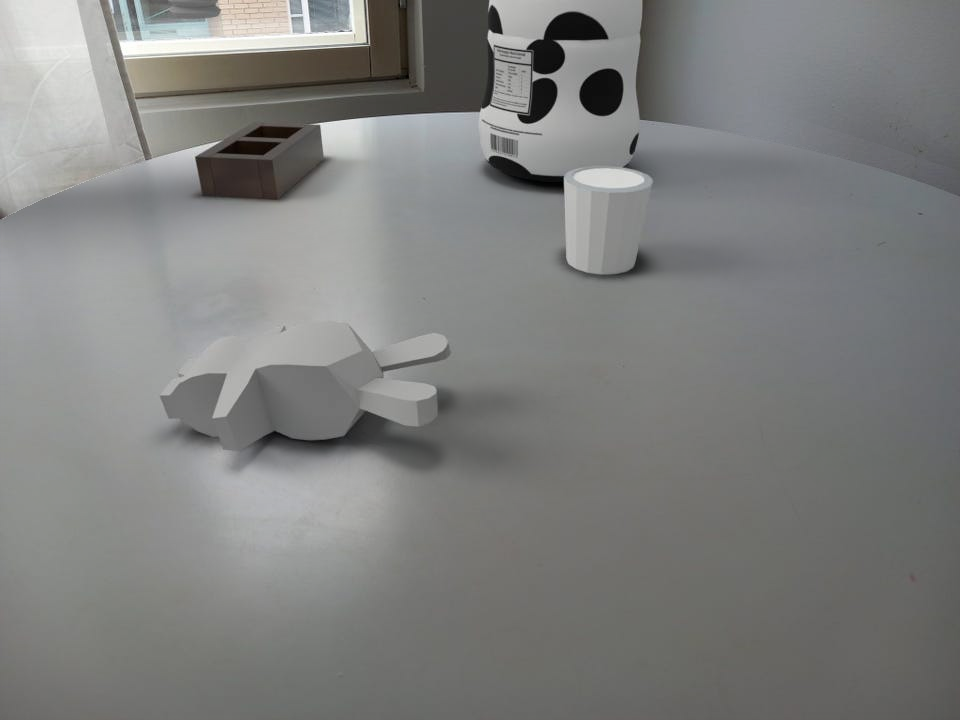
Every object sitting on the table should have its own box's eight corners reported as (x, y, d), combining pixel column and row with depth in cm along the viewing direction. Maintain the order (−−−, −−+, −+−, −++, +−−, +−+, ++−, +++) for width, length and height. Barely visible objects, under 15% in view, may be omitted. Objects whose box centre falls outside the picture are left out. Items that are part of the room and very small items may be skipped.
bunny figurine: (200, 311, 44) (447, 293, 42) (224, 383, 47) (459, 369, 45) (122, 399, 36) (424, 382, 34) (157, 480, 39) (439, 468, 37)
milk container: (632, 152, 89) (650, -15, 80) (637, 198, 75) (659, 0, 65) (489, 146, 91) (491, -17, 82) (467, 190, 77) (466, -3, 67)
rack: (202, 196, 75) (194, 156, 73) (258, 156, 87) (253, 122, 85) (277, 199, 74) (272, 159, 72) (324, 159, 86) (320, 124, 84)
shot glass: (577, 282, 57) (584, 194, 54) (547, 249, 63) (551, 167, 60) (657, 272, 59) (669, 186, 55) (621, 241, 65) (629, 161, 61)
